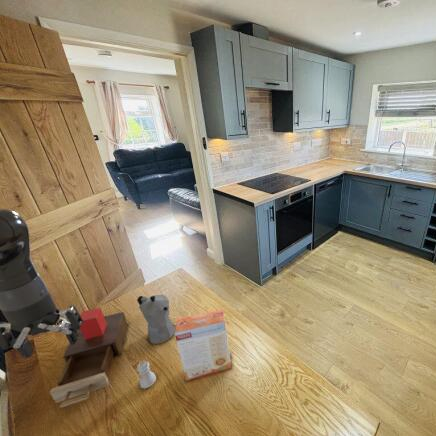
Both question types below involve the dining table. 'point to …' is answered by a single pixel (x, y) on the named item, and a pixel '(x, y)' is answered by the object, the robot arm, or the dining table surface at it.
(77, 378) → the drawer
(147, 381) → the rook chess piece
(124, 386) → the dining table surface
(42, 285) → the robot arm
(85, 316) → the block
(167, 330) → the grey upright piece
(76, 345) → the cabinet
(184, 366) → the cracker box
